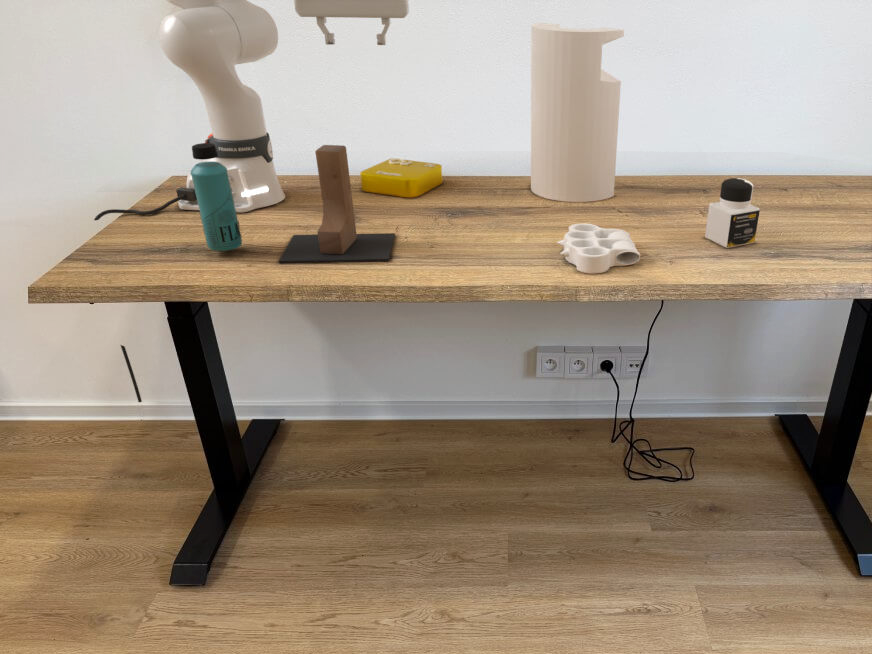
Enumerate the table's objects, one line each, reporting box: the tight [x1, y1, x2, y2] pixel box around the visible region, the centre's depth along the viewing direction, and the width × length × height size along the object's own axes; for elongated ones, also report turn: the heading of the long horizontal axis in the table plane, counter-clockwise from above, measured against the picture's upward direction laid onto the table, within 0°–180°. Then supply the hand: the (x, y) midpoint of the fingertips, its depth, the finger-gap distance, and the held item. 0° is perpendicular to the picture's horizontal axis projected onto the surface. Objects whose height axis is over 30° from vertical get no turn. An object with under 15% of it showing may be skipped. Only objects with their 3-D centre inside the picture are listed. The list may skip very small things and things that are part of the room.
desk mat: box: [278, 232, 396, 264], centre depth 149 cm, size 20×14×1 cm
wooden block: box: [315, 144, 358, 254], centre depth 144 cm, size 9×4×18 cm, turn 174°
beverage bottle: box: [189, 142, 243, 252], centre depth 141 cm, size 6×7×20 cm
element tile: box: [359, 157, 443, 199], centre depth 183 cm, size 15×15×5 cm
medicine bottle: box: [704, 177, 761, 249], centre depth 152 cm, size 7×7×12 cm
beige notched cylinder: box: [530, 22, 625, 203], centre depth 171 cm, size 35×11×21 cm
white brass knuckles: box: [556, 222, 641, 275], centre depth 146 cm, size 3×18×15 cm
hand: (356, 44), depth 144 cm, fingers open, 8 cm apart
